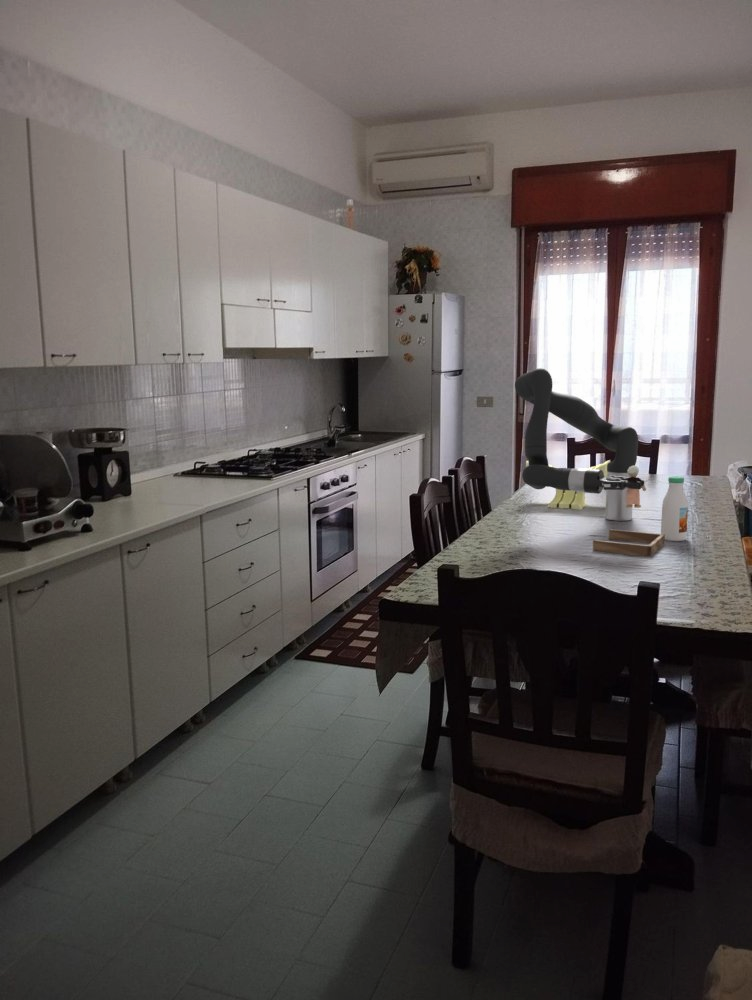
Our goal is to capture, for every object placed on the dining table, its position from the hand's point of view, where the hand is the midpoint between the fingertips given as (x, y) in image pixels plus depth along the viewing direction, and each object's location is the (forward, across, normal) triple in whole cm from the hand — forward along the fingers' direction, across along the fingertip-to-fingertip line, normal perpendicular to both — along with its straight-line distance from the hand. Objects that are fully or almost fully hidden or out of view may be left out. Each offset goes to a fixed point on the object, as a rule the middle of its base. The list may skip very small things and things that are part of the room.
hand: (642, 484), depth 239 cm
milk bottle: (+6, +17, +20) cm, 27 cm away
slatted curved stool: (-43, +59, +20) cm, 76 cm away
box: (-4, 0, +20) cm, 20 cm away
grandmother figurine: (-3, 0, +7) cm, 8 cm away
